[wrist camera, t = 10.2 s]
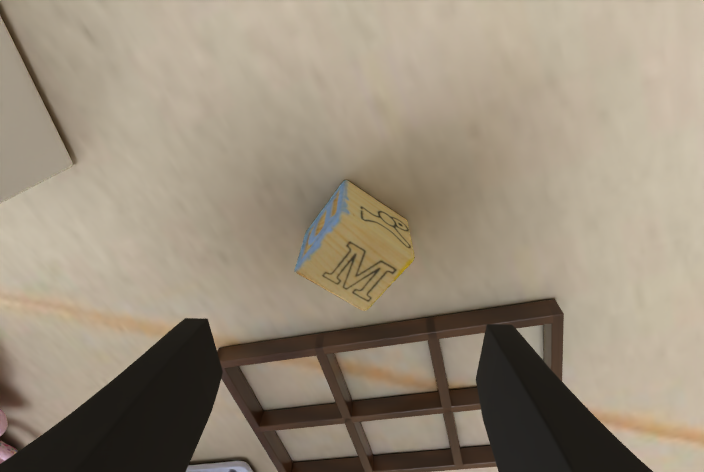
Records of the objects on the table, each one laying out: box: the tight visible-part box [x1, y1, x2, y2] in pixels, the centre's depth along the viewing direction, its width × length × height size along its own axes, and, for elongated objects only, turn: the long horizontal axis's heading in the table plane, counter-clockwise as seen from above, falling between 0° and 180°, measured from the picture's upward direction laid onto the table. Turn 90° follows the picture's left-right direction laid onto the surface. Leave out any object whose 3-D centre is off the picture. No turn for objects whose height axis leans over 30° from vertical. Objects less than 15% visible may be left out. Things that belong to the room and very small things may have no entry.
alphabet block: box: [295, 180, 415, 311], centre depth 14 cm, size 3×3×3 cm
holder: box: [217, 299, 564, 472], centre depth 21 cm, size 16×11×1 cm
